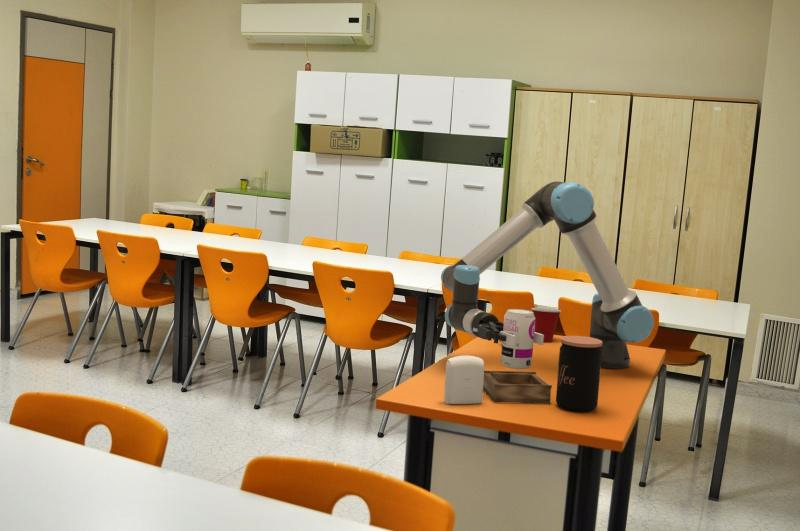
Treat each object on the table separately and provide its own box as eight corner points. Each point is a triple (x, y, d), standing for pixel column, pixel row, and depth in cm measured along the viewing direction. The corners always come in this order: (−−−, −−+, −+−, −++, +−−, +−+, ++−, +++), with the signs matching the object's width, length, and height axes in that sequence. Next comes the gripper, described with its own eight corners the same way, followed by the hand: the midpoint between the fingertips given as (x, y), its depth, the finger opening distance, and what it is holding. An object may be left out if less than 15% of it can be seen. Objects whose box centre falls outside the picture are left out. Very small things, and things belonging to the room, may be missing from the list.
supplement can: (533, 365, 235) (538, 310, 234) (528, 371, 228) (532, 315, 226) (504, 361, 238) (508, 307, 236) (497, 367, 230) (502, 311, 229)
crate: (534, 388, 242) (535, 371, 242) (550, 403, 227) (552, 385, 227) (480, 387, 240) (481, 370, 240) (493, 402, 225) (494, 384, 225)
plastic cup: (557, 339, 319) (560, 307, 318) (560, 344, 308) (562, 311, 307) (528, 336, 320) (530, 304, 318) (529, 342, 309) (532, 309, 308)
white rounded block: (446, 405, 220) (449, 357, 219) (441, 400, 224) (444, 354, 223) (484, 404, 223) (487, 357, 222) (478, 400, 227) (481, 354, 226)
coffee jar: (550, 401, 230) (555, 334, 228) (589, 402, 231) (595, 336, 229) (561, 412, 219) (567, 343, 217) (602, 414, 220) (608, 344, 218)
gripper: (510, 336, 253) (559, 352, 233) (449, 338, 243) (494, 356, 223) (512, 310, 252) (561, 325, 232) (451, 312, 242) (496, 327, 222)
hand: (528, 340), depth 228 cm, fingers closed on supplement can, 8 cm apart
